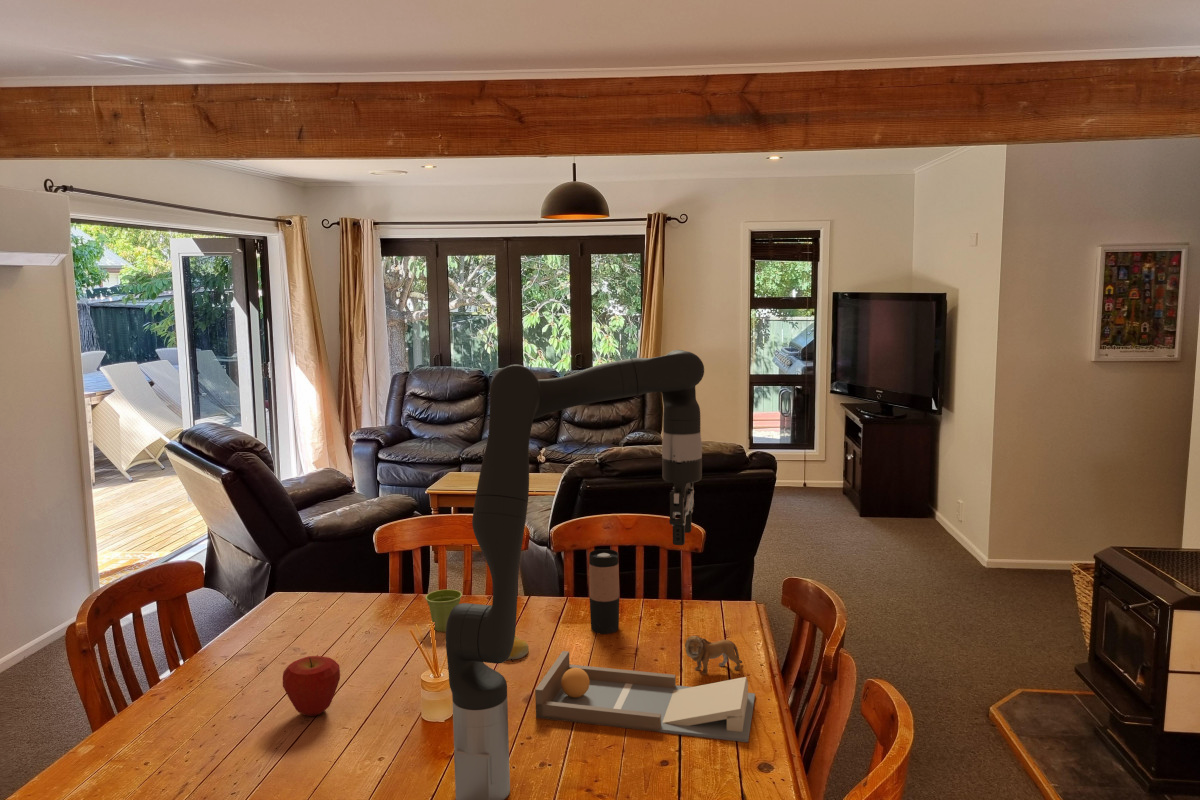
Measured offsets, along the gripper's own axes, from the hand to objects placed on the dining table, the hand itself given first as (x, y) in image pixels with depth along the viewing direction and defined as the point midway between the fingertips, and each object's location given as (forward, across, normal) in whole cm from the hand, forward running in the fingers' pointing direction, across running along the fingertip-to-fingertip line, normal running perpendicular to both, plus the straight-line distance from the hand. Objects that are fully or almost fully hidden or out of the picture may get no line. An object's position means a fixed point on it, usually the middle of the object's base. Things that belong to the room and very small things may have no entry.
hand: (682, 538), depth 158 cm
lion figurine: (+38, -26, +3) cm, 46 cm away
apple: (+38, +12, -75) cm, 85 cm away
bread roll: (+39, -25, -46) cm, 65 cm away
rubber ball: (+34, -6, -24) cm, 42 cm away
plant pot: (+38, -36, -68) cm, 86 cm away
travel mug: (+38, -44, -27) cm, 64 cm away
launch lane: (+39, -6, -8) cm, 40 cm away
